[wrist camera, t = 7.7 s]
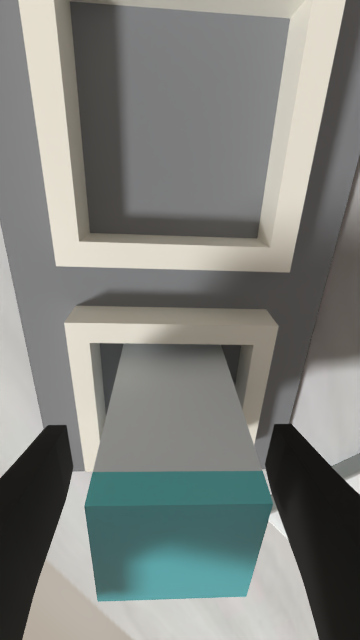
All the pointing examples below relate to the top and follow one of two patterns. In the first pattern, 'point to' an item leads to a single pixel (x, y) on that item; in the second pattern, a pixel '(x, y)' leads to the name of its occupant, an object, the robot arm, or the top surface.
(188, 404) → the plug
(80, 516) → the top surface
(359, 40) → the mat
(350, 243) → the top surface
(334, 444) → the top surface
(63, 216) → the frame
